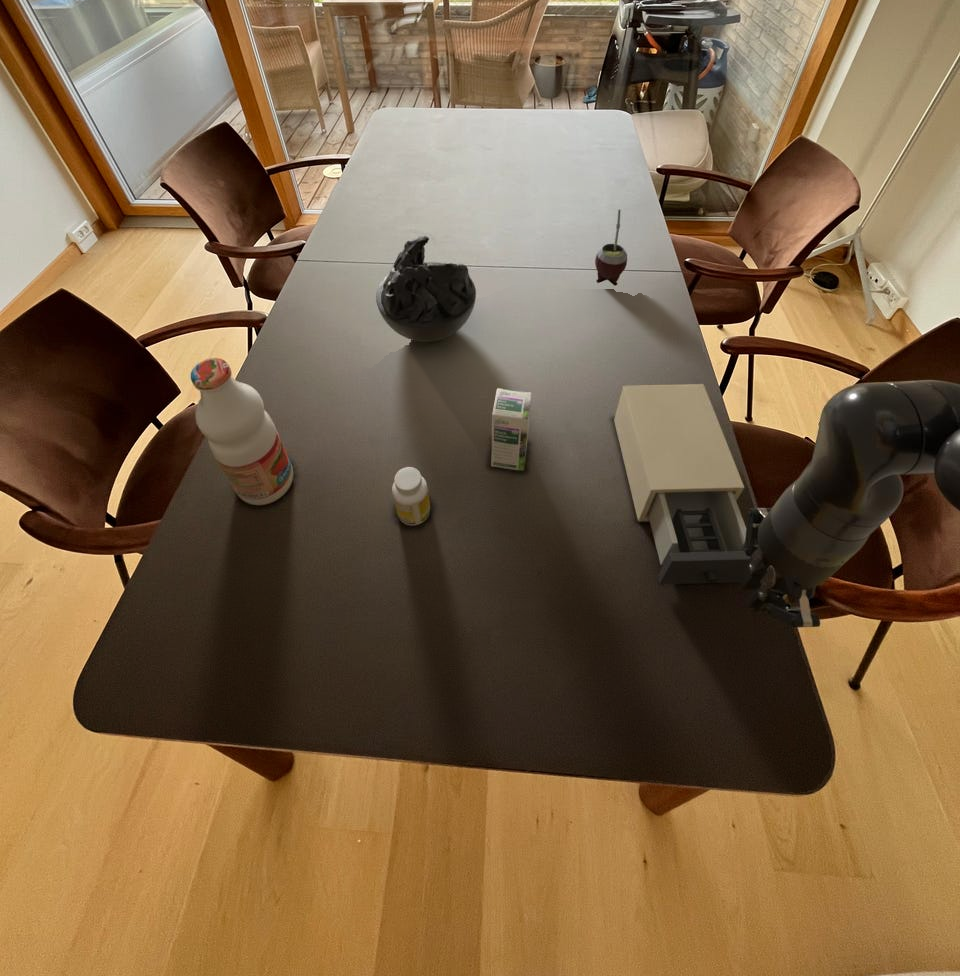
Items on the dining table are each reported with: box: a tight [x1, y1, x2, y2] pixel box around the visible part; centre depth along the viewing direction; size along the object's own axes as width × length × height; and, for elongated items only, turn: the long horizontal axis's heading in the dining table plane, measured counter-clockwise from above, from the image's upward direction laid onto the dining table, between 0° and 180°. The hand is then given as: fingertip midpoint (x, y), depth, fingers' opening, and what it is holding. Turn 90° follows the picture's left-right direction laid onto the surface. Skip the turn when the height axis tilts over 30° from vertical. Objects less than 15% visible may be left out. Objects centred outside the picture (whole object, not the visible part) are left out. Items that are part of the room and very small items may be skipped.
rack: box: [672, 508, 725, 553], centre depth 84 cm, size 5×7×4 cm
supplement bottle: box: [391, 466, 431, 526], centre depth 88 cm, size 5×5×10 cm
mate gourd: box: [594, 209, 628, 286], centre depth 128 cm, size 8×8×15 cm
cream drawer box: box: [613, 383, 745, 523], centre depth 94 cm, size 20×14×10 cm
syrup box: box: [490, 387, 533, 472], centre depth 94 cm, size 6×6×14 cm
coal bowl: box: [375, 235, 477, 343], centre depth 114 cm, size 20×20×19 cm
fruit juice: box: [190, 357, 294, 506], centre depth 85 cm, size 9×9×28 cm
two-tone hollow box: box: [647, 491, 751, 585], centre depth 86 cm, size 20×13×8 cm, turn 2°
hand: (752, 595), depth 67 cm, fingers closed
